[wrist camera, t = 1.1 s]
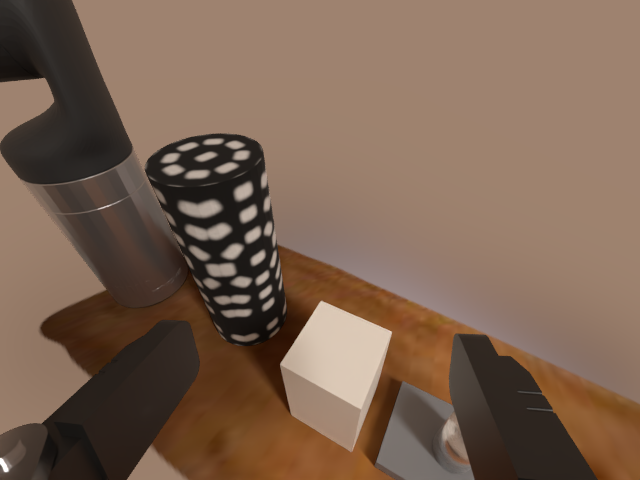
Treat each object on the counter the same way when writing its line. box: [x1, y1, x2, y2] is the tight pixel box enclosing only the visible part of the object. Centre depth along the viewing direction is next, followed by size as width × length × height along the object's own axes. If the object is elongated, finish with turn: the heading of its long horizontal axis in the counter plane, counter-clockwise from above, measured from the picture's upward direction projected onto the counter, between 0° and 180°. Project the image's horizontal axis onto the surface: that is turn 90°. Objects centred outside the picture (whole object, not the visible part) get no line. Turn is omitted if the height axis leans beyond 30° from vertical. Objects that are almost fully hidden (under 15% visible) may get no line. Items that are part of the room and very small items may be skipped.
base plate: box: [375, 381, 475, 480], centre depth 23 cm, size 10×7×6 cm
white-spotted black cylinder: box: [145, 134, 287, 346], centre depth 29 cm, size 8×8×20 cm
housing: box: [280, 301, 392, 452], centre depth 25 cm, size 6×6×10 cm
